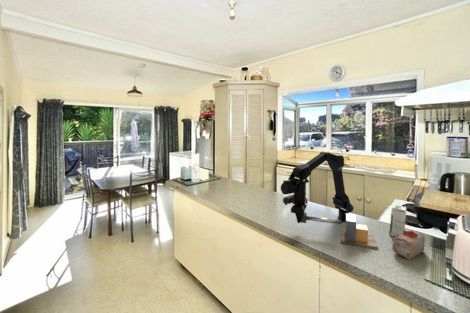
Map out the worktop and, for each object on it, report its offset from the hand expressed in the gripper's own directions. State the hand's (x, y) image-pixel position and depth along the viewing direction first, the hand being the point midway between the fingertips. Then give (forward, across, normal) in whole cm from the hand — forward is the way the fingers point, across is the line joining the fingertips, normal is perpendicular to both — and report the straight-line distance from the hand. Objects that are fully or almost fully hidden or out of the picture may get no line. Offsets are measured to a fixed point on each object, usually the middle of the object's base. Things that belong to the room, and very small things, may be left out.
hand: (299, 220), depth 125 cm
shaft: (0, 0, +10) cm, 10 cm away
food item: (+6, +5, +46) cm, 47 cm away
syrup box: (+6, -13, +46) cm, 48 cm away
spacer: (+5, 0, +29) cm, 29 cm away
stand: (+6, 0, +28) cm, 28 cm away
